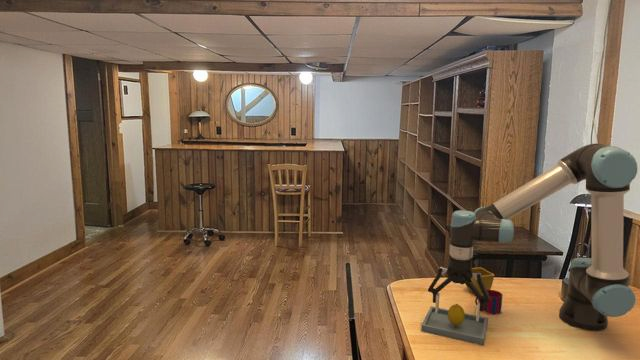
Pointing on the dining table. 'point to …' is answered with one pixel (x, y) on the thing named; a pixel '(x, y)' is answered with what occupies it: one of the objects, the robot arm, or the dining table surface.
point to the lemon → (456, 314)
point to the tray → (465, 331)
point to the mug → (493, 302)
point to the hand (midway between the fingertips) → (456, 315)
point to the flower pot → (486, 279)
